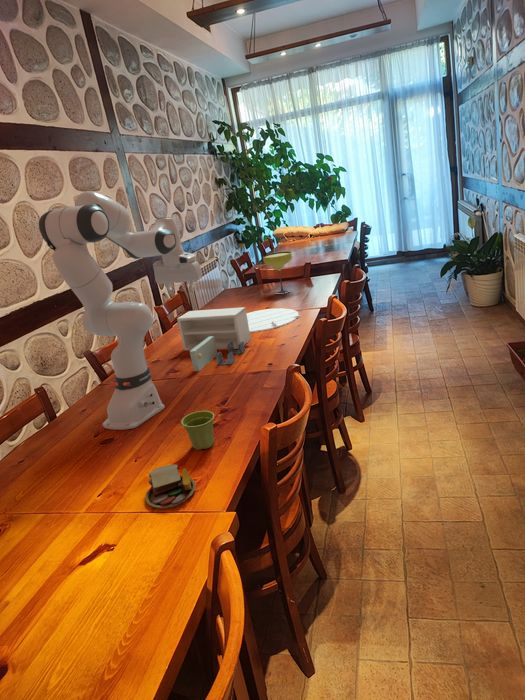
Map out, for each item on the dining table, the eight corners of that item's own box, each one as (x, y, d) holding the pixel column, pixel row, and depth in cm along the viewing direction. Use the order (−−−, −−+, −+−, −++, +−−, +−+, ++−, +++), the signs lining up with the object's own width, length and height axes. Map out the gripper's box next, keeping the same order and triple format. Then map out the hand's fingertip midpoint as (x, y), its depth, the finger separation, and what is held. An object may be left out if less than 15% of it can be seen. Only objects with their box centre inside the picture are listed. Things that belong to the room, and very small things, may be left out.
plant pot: (204, 433, 143) (198, 408, 140) (226, 440, 137) (220, 413, 134) (181, 449, 136) (174, 422, 133) (203, 456, 130) (197, 429, 127)
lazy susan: (312, 319, 239) (311, 313, 238) (241, 339, 227) (239, 332, 226) (280, 306, 275) (279, 300, 274) (217, 322, 263) (216, 317, 262)
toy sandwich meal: (145, 517, 109) (140, 500, 108) (146, 485, 122) (142, 469, 120) (198, 503, 111) (194, 486, 110) (194, 472, 124) (190, 457, 122)
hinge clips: (230, 364, 195) (228, 355, 194) (217, 365, 197) (215, 355, 196) (245, 350, 209) (243, 341, 208) (232, 351, 211) (230, 342, 210)
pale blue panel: (201, 371, 194) (197, 351, 191) (194, 371, 195) (189, 351, 192) (219, 355, 210) (215, 336, 207) (212, 355, 211) (208, 336, 208)
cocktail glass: (283, 288, 318) (278, 251, 310) (302, 290, 304) (296, 251, 296) (263, 295, 308) (257, 257, 300) (281, 297, 294) (275, 257, 286)
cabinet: (241, 348, 213) (235, 314, 207) (184, 350, 224) (177, 318, 219) (250, 339, 223) (245, 307, 218) (196, 341, 234) (189, 311, 229)
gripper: (147, 263, 187) (156, 296, 192) (192, 258, 179) (200, 292, 184) (156, 259, 192) (164, 292, 197) (199, 254, 184) (207, 288, 189)
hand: (182, 292), depth 190 cm, fingers open, 8 cm apart
